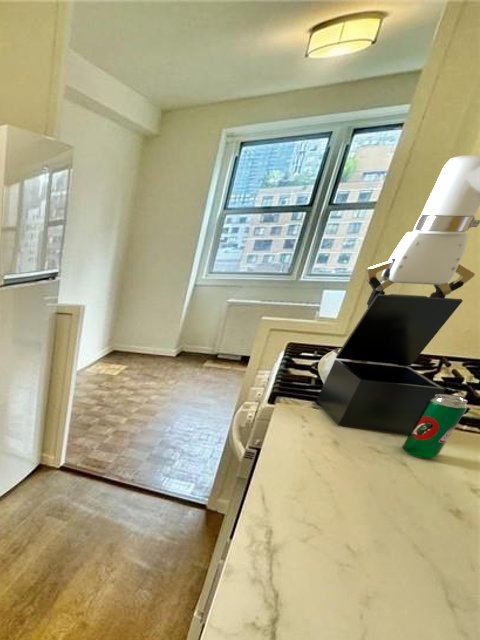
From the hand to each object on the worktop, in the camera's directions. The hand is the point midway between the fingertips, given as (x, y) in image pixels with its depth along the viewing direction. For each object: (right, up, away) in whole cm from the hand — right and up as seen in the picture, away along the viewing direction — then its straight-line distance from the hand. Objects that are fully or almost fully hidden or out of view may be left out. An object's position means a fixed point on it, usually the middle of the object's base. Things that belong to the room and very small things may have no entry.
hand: (399, 310), depth 107 cm
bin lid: (-1, -5, 0) cm, 5 cm away
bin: (-3, -23, +5) cm, 24 cm away
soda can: (-8, -32, -10) cm, 34 cm away
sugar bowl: (+7, -16, +20) cm, 26 cm away
